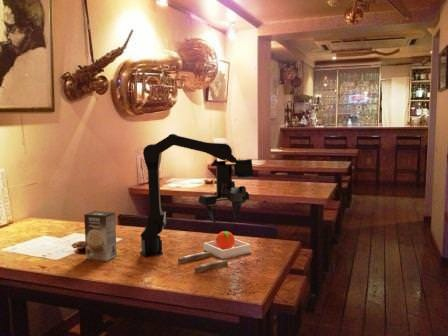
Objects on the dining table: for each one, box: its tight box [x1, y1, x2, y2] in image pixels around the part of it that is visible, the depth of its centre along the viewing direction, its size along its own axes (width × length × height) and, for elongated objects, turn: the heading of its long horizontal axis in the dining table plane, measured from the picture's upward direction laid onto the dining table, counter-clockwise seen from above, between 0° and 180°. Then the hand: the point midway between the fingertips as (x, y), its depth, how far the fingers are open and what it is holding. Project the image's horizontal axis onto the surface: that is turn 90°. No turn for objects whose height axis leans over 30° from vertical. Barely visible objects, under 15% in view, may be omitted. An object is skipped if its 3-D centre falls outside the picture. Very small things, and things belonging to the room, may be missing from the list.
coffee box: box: [83, 210, 118, 262], centre depth 142 cm, size 9×6×16 cm
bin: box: [203, 238, 251, 260], centre depth 147 cm, size 12×12×3 cm
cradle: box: [177, 251, 228, 274], centre depth 134 cm, size 12×12×2 cm
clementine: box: [215, 230, 236, 250], centre depth 146 cm, size 8×7×7 cm
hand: (224, 221), depth 146 cm, fingers open, 9 cm apart
